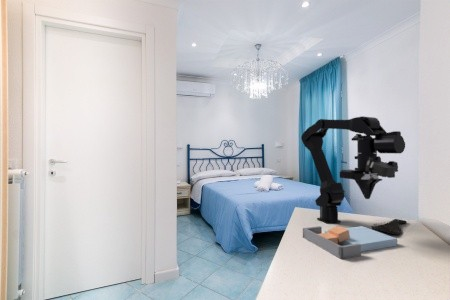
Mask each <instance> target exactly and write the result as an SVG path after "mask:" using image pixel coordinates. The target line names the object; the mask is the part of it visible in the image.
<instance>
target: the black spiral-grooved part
mask: <svg viewBox="0 0 450 300" xmlns="http://www.w3.org/2000/svg"><path fill="white" fill-rule="evenodd" d="M401 223H402V224H404V223H405V224H407V220H403V219H398V218H394V219H392V220H390V221H388V222H386V221H384V222H380V223H377V222H375V223H373V225H371V228H370V229H372V230H374V231H378V232H382V233H383V232H384V233H387V234H390V235H396V236H400V235H402V233H403V230H402V226H401V225H400V224H401Z"/></svg>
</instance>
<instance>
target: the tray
mask: <svg viewBox="0 0 450 300" xmlns="http://www.w3.org/2000/svg"><path fill="white" fill-rule="evenodd" d="M322 228H323V227H322V226H321V225H319V226H318V225H317V226H310V227H302V238H304V239H305V240H307V241H308V242H310V243H312V244H314V245H315V246H318V247H319V248H321V249H322V250H325V251H326V252H328V253H330V254H331V255H333V256H335V257H337V258H338V259H340V260H344V259H349V258H355V257H360V256H362V251H361V244H359V243H357V244H351V245H342V244H340V243H338V244H336V243H334V242H332V241H330V240H328V239H326V238H324V237H322V236H320V235H318V234H322V233H323V230H322Z"/></svg>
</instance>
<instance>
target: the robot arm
mask: <svg viewBox="0 0 450 300" xmlns="http://www.w3.org/2000/svg"><path fill="white" fill-rule="evenodd" d="M329 130H348V131H350V132H353V133H356V134H355V135H354V136H353V137H352V138H351V141H353V142H357V145H356V147H357V155H355V156H354V159H355V160H357V167H354V169H341V170H340V171H339V178H340V179H347V180H348V179H349V180H353V181H354V182H355V183H356V184H357V186H358V188H359V190H360V192H361V193H362V195H363V198H364V199H365V200H370V198H371V196H372V194H373V191H374V189H375V186H376V184H378V183H379V182H382V181H383V178H388V179H391V178H396V173H398V171H399V166H398V165H399V164H398V162H396V161H394V160H389V161H388V162H387V161H386V162H383V161H382V158H381V156H379V155H378V154H402V153H404V151H405V149H406V142H405V139H404V137H403V136H402V135H401V134H402V133H401V131H399V130H398V131H396V130H395V131H394V130H393V131H390V132H387V131H386V130H385V129H384V128H383V126H382V125H381V123H380V120H379V118H378V117H377V118H376V117H371V116H362V115H361V116H355V117H352V118H350V119H323V118H320V119H318V120H316V121H315V123H313V124H312V125H310V126H309V127H307V129H306V130H305V131H303V133H302V135H301V137H300V139H301V142H302V144H303V146H304V147H305V148H306V149H307V150H308V151H310V152H309V153H310V155H311V157H312V162H313V163H314V166H315V169H316V173H317V174H318V178H319V180H320V187H319V193H320V195H319V196H318V197H317V198H316V199H315V200H314V201H315V205H316V206H317V207H319V217H317V218H316V220H318V221H321V222H323V223H325V224H334V223H336V224H337V223H341V221H342V220H340V219H339V211H338V207H341V206H342V203H343V201H344V199H345V190H344V188H343V184H342V183H341V182H336V181H335V179H334V177H333V174H332V172H331V169H330V166H329V163H328V161H327V158H326V156H325V153H324V151H323V145H324V140H323V138H324V137H325V136H326V135H327V132H328V131H329ZM362 134H364V135H362ZM372 136H373V137H372ZM380 177H382V178H380Z"/></svg>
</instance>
